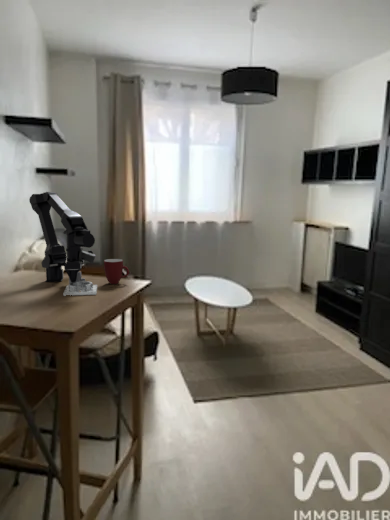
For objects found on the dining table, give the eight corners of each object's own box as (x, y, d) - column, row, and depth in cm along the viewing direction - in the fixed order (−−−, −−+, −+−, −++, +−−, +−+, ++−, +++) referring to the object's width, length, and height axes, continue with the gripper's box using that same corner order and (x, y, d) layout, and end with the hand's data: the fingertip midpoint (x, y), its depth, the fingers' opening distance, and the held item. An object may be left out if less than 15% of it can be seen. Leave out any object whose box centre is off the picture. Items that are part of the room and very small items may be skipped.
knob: (68, 287, 165) (68, 272, 164) (69, 284, 170) (69, 270, 169) (84, 287, 167) (84, 272, 166) (85, 284, 171) (85, 270, 170)
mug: (128, 280, 180) (128, 258, 178) (129, 284, 172) (129, 261, 170) (104, 281, 177) (103, 259, 176) (104, 285, 170) (103, 262, 168)
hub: (63, 295, 152) (63, 287, 152) (67, 288, 164) (66, 280, 163) (96, 294, 155) (95, 286, 154) (97, 287, 166) (97, 279, 166)
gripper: (93, 248, 158) (94, 286, 161) (95, 242, 176) (96, 277, 179) (63, 248, 156) (65, 287, 158) (68, 242, 174) (69, 278, 176)
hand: (75, 282), depth 168 cm, fingers open, 9 cm apart
